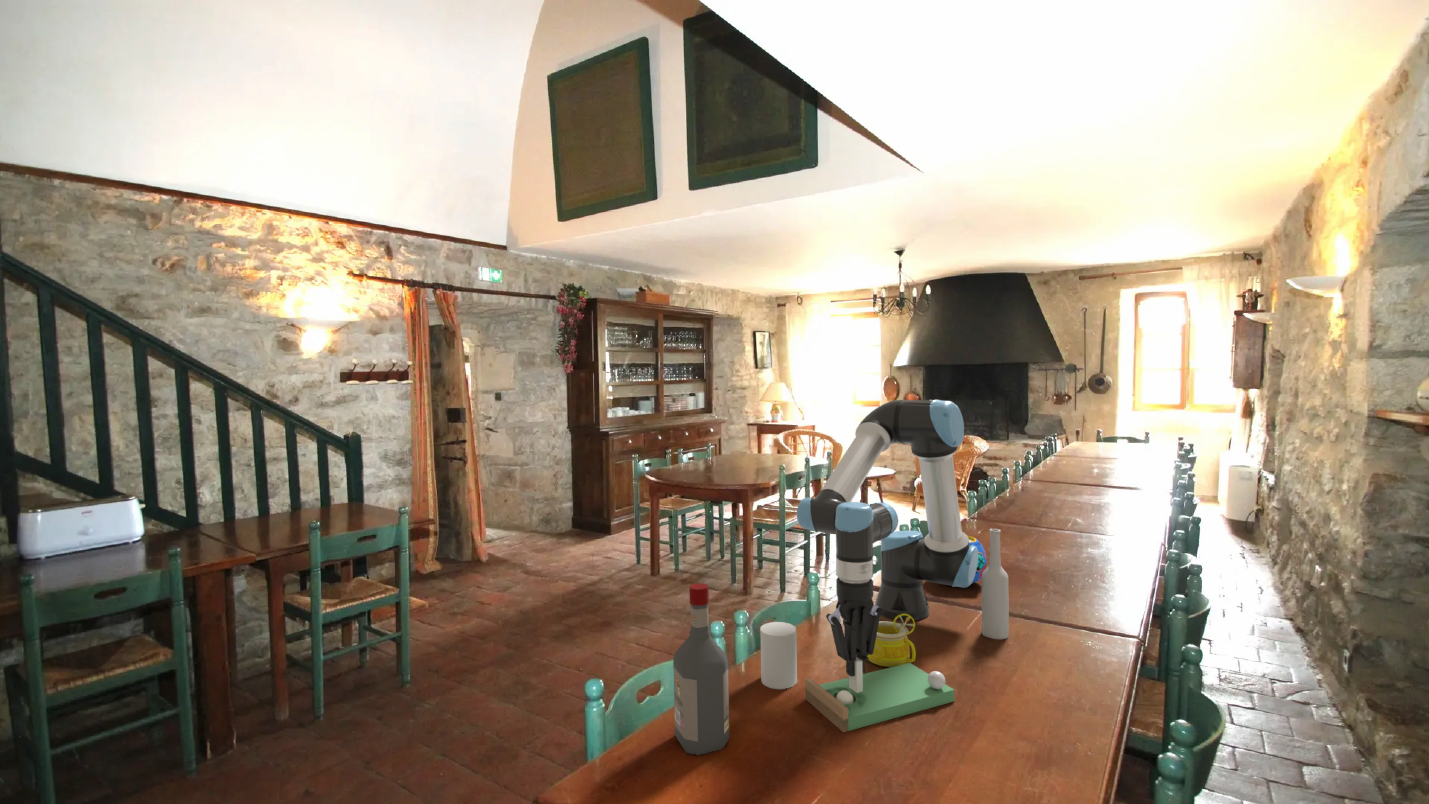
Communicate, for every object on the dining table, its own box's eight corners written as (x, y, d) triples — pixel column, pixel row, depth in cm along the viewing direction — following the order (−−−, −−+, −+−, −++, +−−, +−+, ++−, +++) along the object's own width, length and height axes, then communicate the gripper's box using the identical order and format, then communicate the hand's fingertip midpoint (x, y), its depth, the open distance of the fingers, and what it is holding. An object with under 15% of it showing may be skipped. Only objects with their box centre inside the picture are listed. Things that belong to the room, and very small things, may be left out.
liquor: (688, 759, 116) (684, 597, 115) (671, 734, 124) (668, 582, 123) (733, 747, 120) (730, 589, 118) (714, 723, 128) (711, 576, 127)
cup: (800, 674, 148) (799, 624, 147) (792, 691, 140) (792, 637, 140) (766, 670, 151) (765, 620, 150) (757, 686, 143) (756, 633, 142)
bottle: (1002, 641, 164) (1001, 534, 163) (977, 634, 169) (976, 529, 168) (1013, 634, 168) (1013, 529, 167) (988, 627, 173) (988, 525, 172)
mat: (805, 699, 137) (805, 678, 136) (909, 673, 148) (909, 654, 147) (843, 732, 124) (842, 709, 124) (954, 701, 135) (954, 680, 134)
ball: (847, 704, 135) (840, 714, 132) (837, 689, 135) (829, 699, 133) (859, 700, 133) (852, 711, 130) (849, 685, 133) (842, 695, 130)
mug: (855, 661, 154) (854, 612, 154) (877, 647, 162) (877, 600, 162) (904, 677, 146) (904, 626, 145) (925, 661, 154) (925, 612, 153)
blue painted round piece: (935, 591, 203) (935, 544, 202) (926, 574, 220) (926, 531, 220) (993, 593, 200) (993, 545, 199) (979, 575, 218) (979, 532, 217)
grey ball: (923, 686, 136) (923, 670, 136) (937, 683, 138) (937, 666, 137) (935, 694, 133) (935, 677, 133) (949, 690, 134) (949, 673, 134)
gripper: (838, 588, 126) (839, 704, 127) (891, 578, 131) (892, 690, 132) (818, 577, 133) (819, 687, 134) (869, 568, 138) (870, 675, 139)
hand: (855, 689), depth 133 cm, fingers closed
